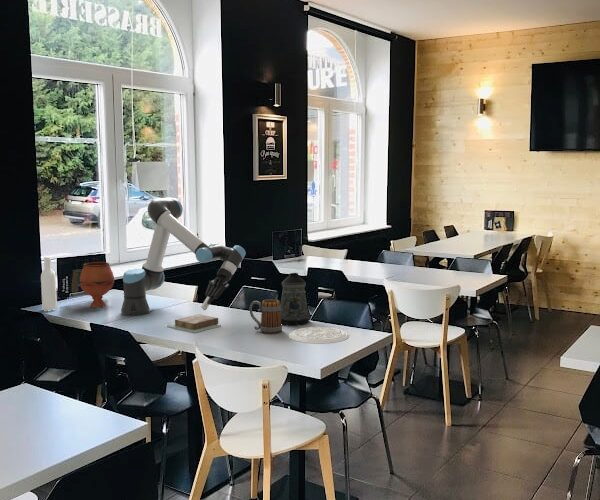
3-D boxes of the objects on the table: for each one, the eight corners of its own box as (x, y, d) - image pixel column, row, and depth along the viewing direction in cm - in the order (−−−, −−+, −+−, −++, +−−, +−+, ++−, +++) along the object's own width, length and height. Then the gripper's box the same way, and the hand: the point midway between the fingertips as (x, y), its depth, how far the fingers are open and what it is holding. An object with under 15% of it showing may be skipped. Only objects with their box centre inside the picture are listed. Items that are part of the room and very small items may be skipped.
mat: (167, 326, 322) (167, 325, 322) (193, 320, 335) (193, 319, 335) (194, 332, 309) (194, 331, 309) (221, 326, 323) (221, 325, 323)
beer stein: (281, 327, 320) (281, 277, 317) (272, 318, 339) (272, 271, 336) (313, 324, 325) (313, 275, 322) (303, 316, 343) (303, 270, 340)
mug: (283, 329, 316) (283, 298, 314) (280, 334, 305) (280, 303, 304) (251, 328, 317) (251, 298, 316) (247, 333, 307) (247, 302, 305)
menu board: (199, 320, 334) (175, 325, 322) (199, 314, 334) (175, 319, 321) (218, 324, 325) (194, 330, 313) (218, 317, 325) (194, 323, 313)
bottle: (49, 308, 368) (46, 255, 365) (60, 309, 366) (58, 256, 362) (39, 311, 361) (36, 257, 357) (50, 312, 358) (48, 258, 355)
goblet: (82, 310, 361) (80, 266, 358) (79, 304, 379) (77, 262, 376) (117, 307, 368) (115, 264, 365) (113, 301, 386) (111, 260, 383)
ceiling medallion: (334, 327, 321) (334, 321, 320) (358, 341, 295) (358, 334, 294) (280, 332, 311) (280, 326, 311) (301, 346, 285) (301, 339, 285)
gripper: (239, 277, 335) (216, 314, 324) (221, 275, 344) (198, 311, 333) (231, 268, 331) (208, 305, 320) (213, 266, 339) (190, 302, 328)
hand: (203, 308), depth 326 cm, fingers closed
